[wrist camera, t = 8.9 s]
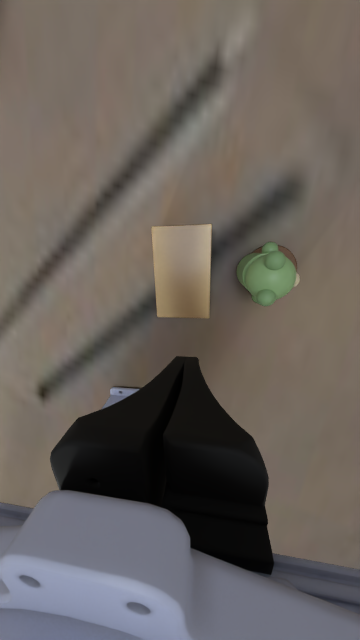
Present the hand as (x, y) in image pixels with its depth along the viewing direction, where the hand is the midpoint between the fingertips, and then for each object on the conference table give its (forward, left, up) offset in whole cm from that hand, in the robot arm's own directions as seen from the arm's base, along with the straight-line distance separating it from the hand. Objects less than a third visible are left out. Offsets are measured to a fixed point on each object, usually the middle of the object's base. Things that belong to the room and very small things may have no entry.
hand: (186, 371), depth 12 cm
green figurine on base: (+4, +5, -10) cm, 12 cm away
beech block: (-1, +5, -10) cm, 12 cm away
